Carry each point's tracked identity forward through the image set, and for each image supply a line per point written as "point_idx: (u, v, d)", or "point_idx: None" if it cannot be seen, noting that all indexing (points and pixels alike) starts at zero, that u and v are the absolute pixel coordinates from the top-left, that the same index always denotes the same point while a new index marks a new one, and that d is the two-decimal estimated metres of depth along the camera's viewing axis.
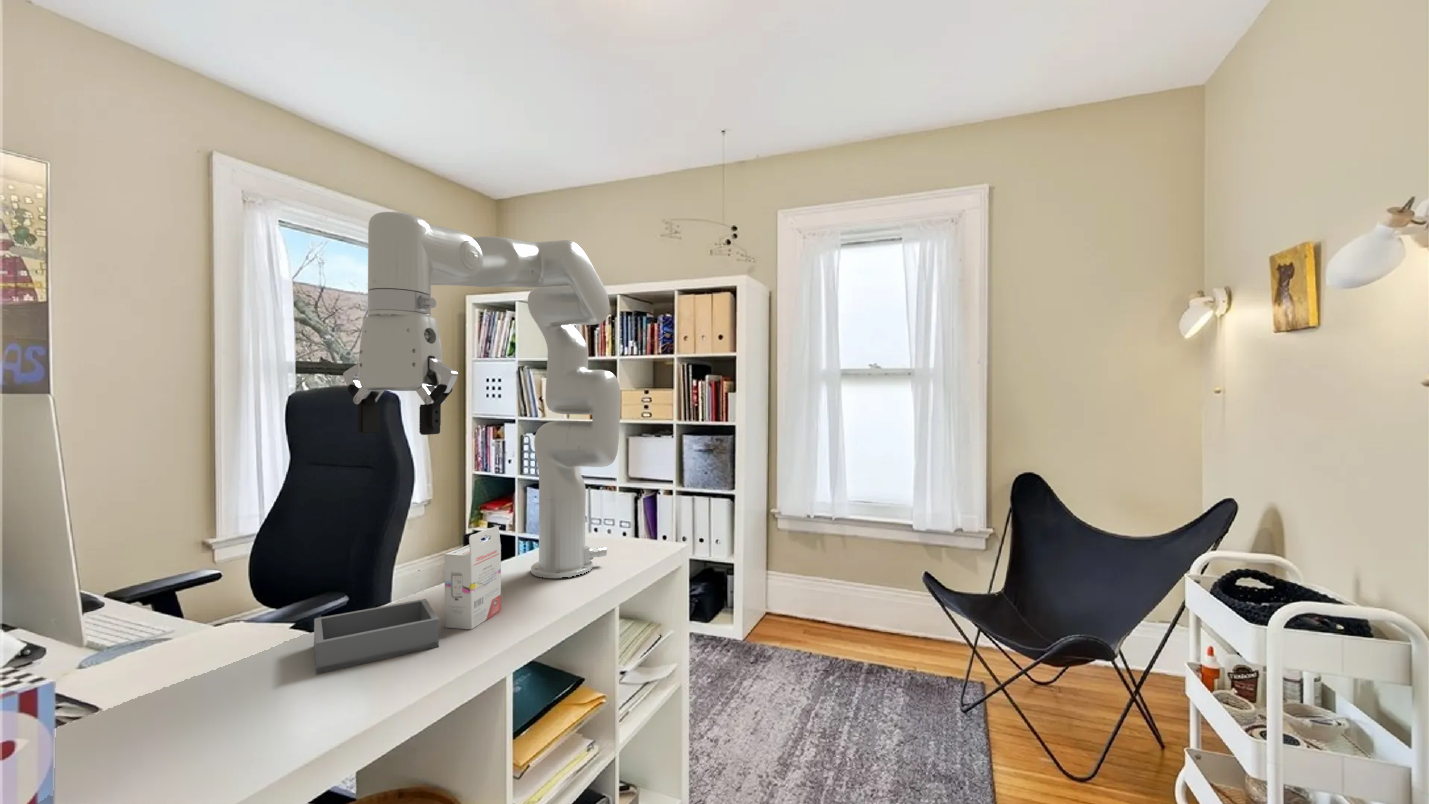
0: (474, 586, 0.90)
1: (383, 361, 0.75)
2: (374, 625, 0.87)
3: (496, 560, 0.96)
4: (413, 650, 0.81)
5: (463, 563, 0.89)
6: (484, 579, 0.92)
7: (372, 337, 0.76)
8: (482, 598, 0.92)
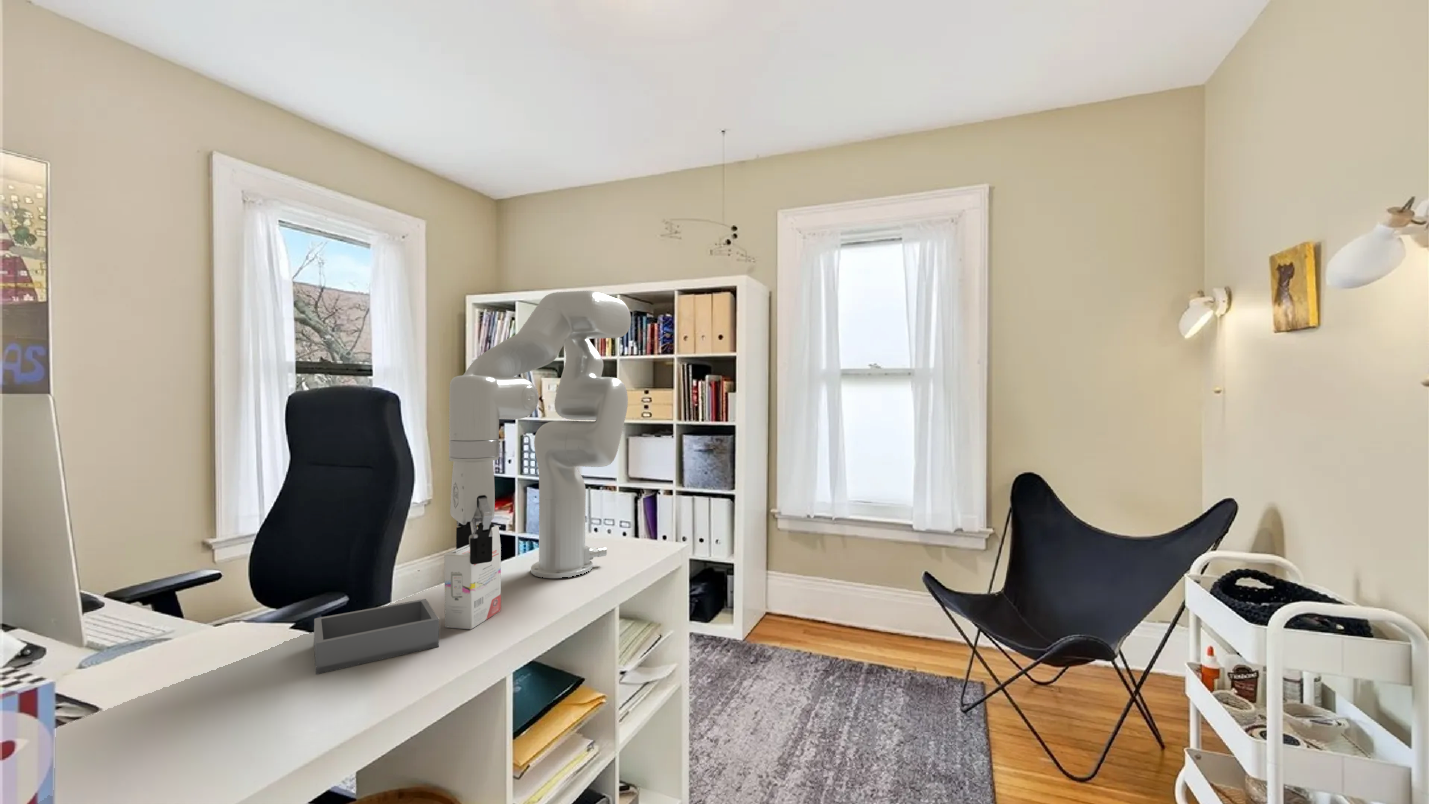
0: (474, 586, 0.90)
1: None
2: (374, 625, 0.87)
3: (496, 560, 0.96)
4: (413, 650, 0.81)
5: (463, 563, 0.89)
6: (484, 579, 0.92)
7: None
8: (482, 598, 0.92)
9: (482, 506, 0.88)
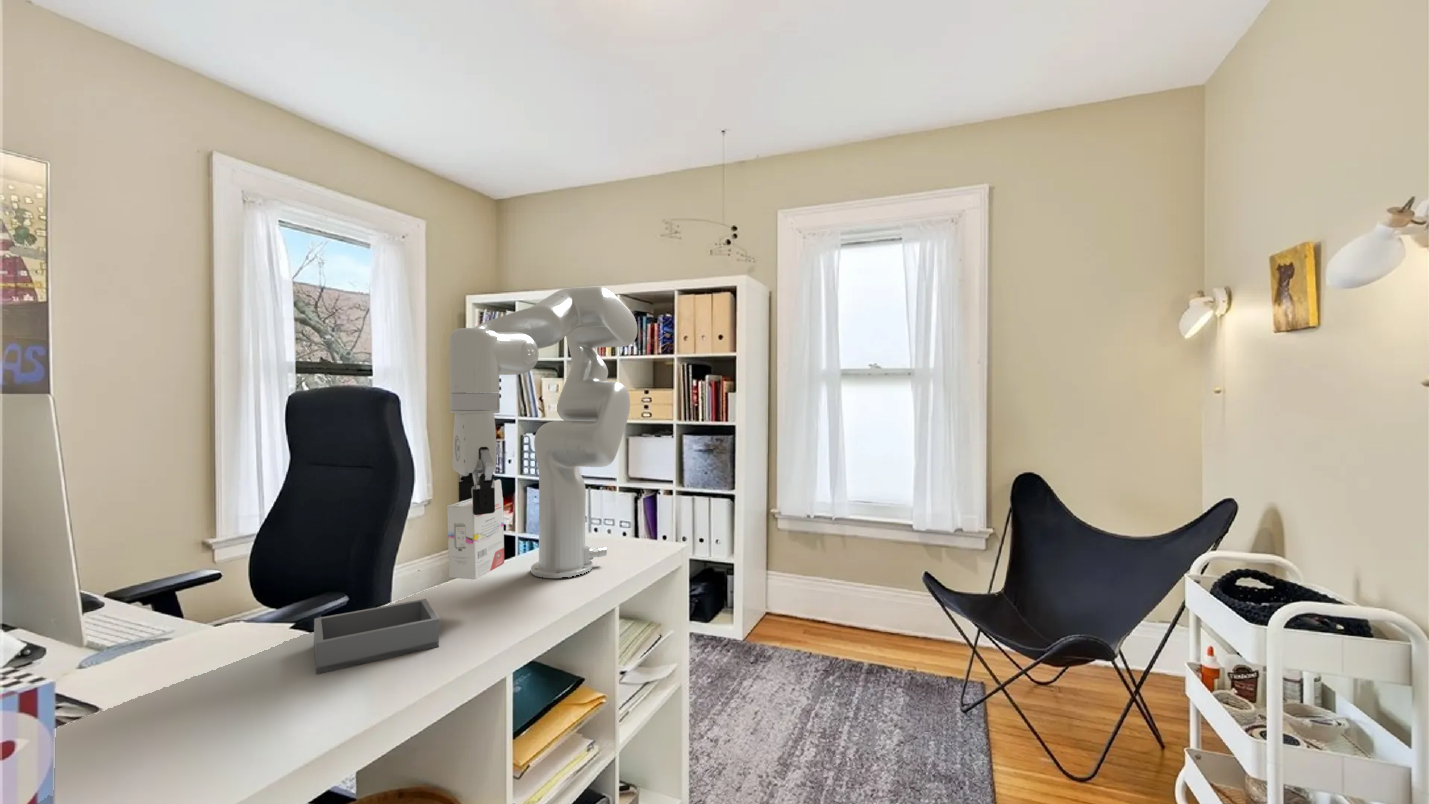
0: (477, 537, 0.91)
1: None
2: (374, 625, 0.87)
3: (498, 513, 0.96)
4: (413, 650, 0.81)
5: (466, 514, 0.90)
6: (487, 531, 0.93)
7: None
8: (485, 550, 0.93)
9: (484, 457, 0.88)
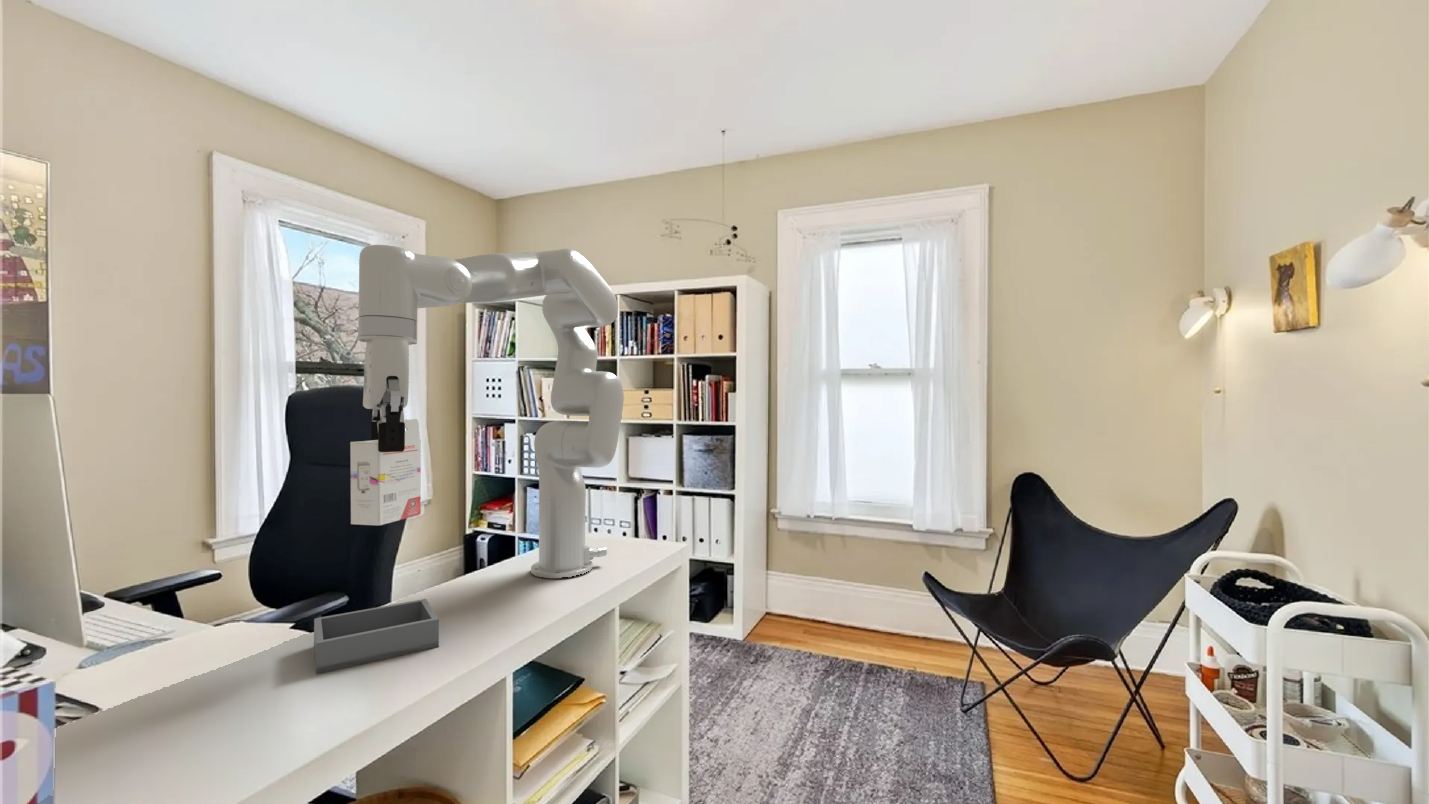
0: (384, 478, 0.80)
1: None
2: (374, 625, 0.87)
3: (414, 456, 0.86)
4: (413, 650, 0.81)
5: (371, 451, 0.80)
6: (397, 473, 0.83)
7: None
8: (394, 494, 0.82)
9: (391, 385, 0.78)
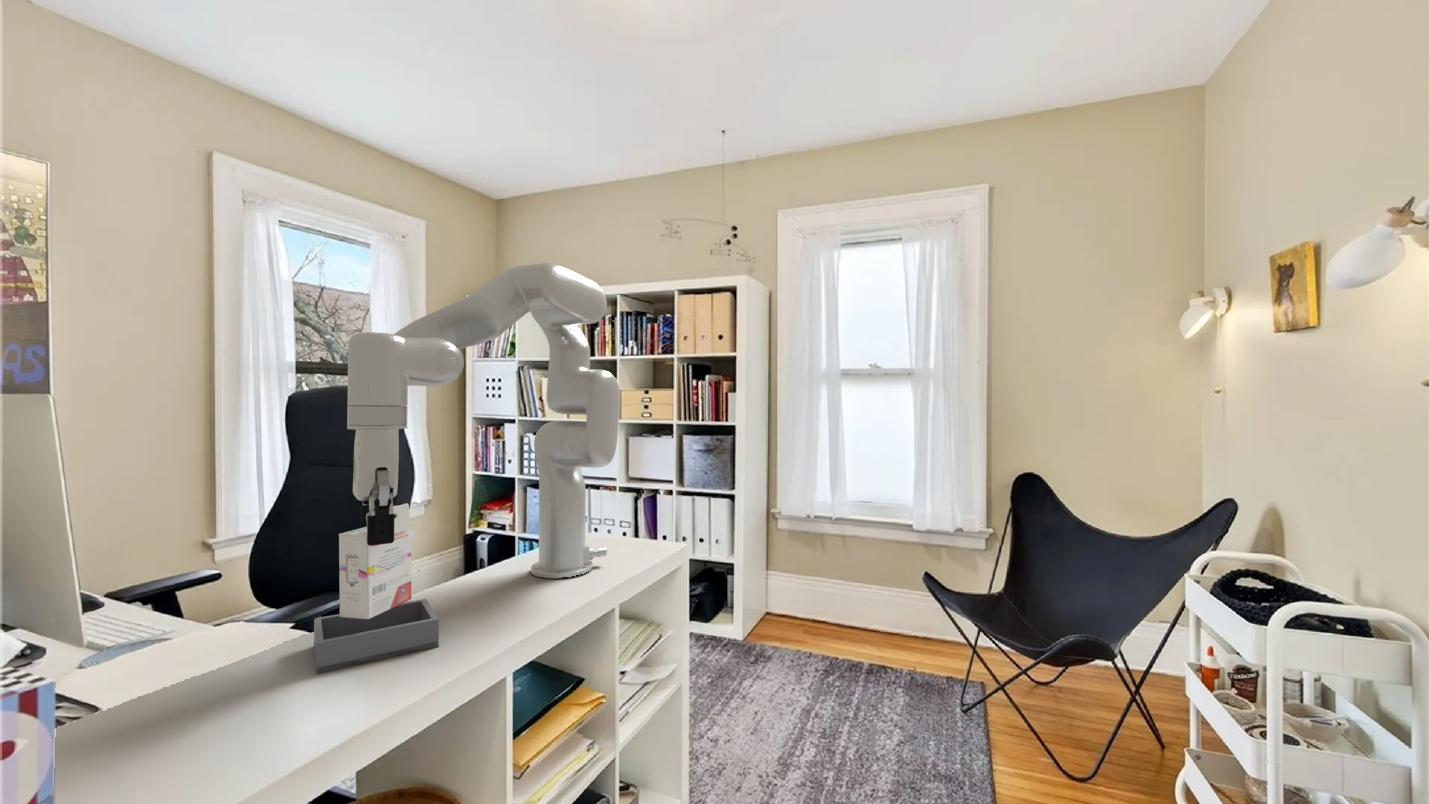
0: (373, 570, 0.79)
1: None
2: (374, 625, 0.87)
3: (404, 542, 0.85)
4: (413, 650, 0.81)
5: (360, 543, 0.79)
6: (387, 562, 0.82)
7: None
8: (383, 584, 0.81)
9: (379, 479, 0.77)
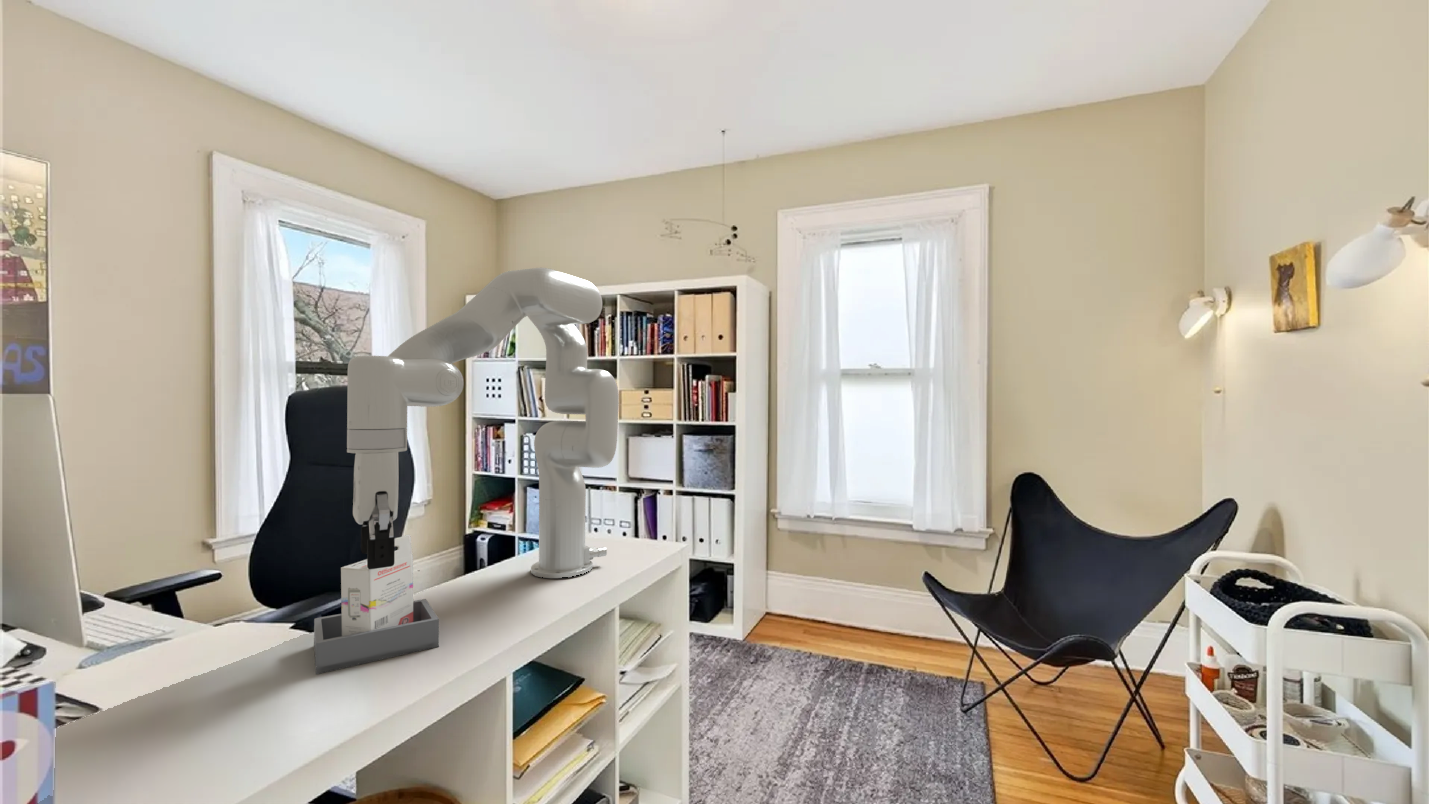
0: (375, 604, 0.79)
1: None
2: None
3: (406, 573, 0.85)
4: (413, 650, 0.81)
5: (362, 577, 0.79)
6: (389, 595, 0.82)
7: (398, 471, 0.83)
8: (385, 617, 0.81)
9: (379, 503, 0.77)
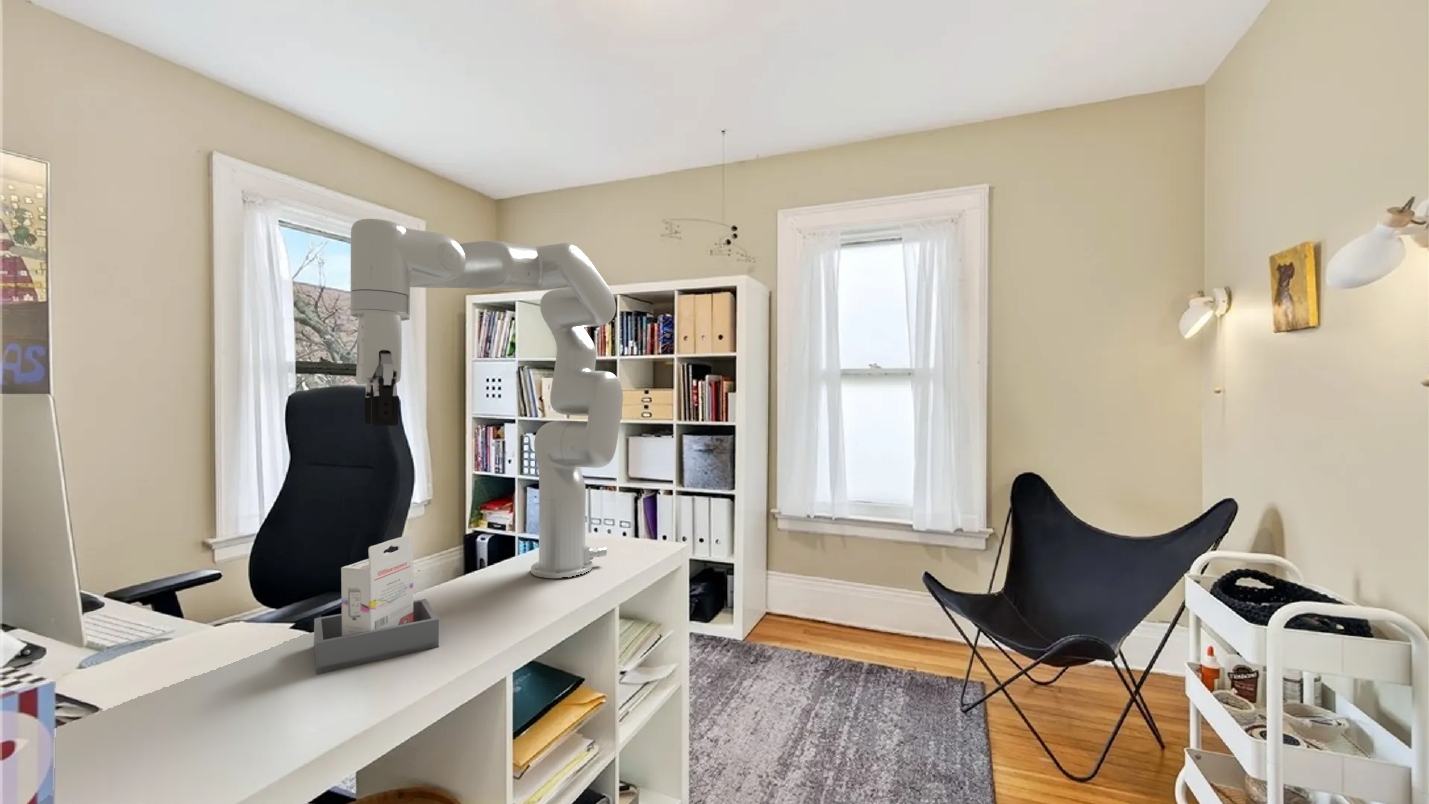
0: (375, 604, 0.79)
1: None
2: None
3: (406, 573, 0.85)
4: (413, 650, 0.81)
5: (362, 578, 0.79)
6: (389, 595, 0.82)
7: None
8: (386, 617, 0.81)
9: (383, 358, 0.78)
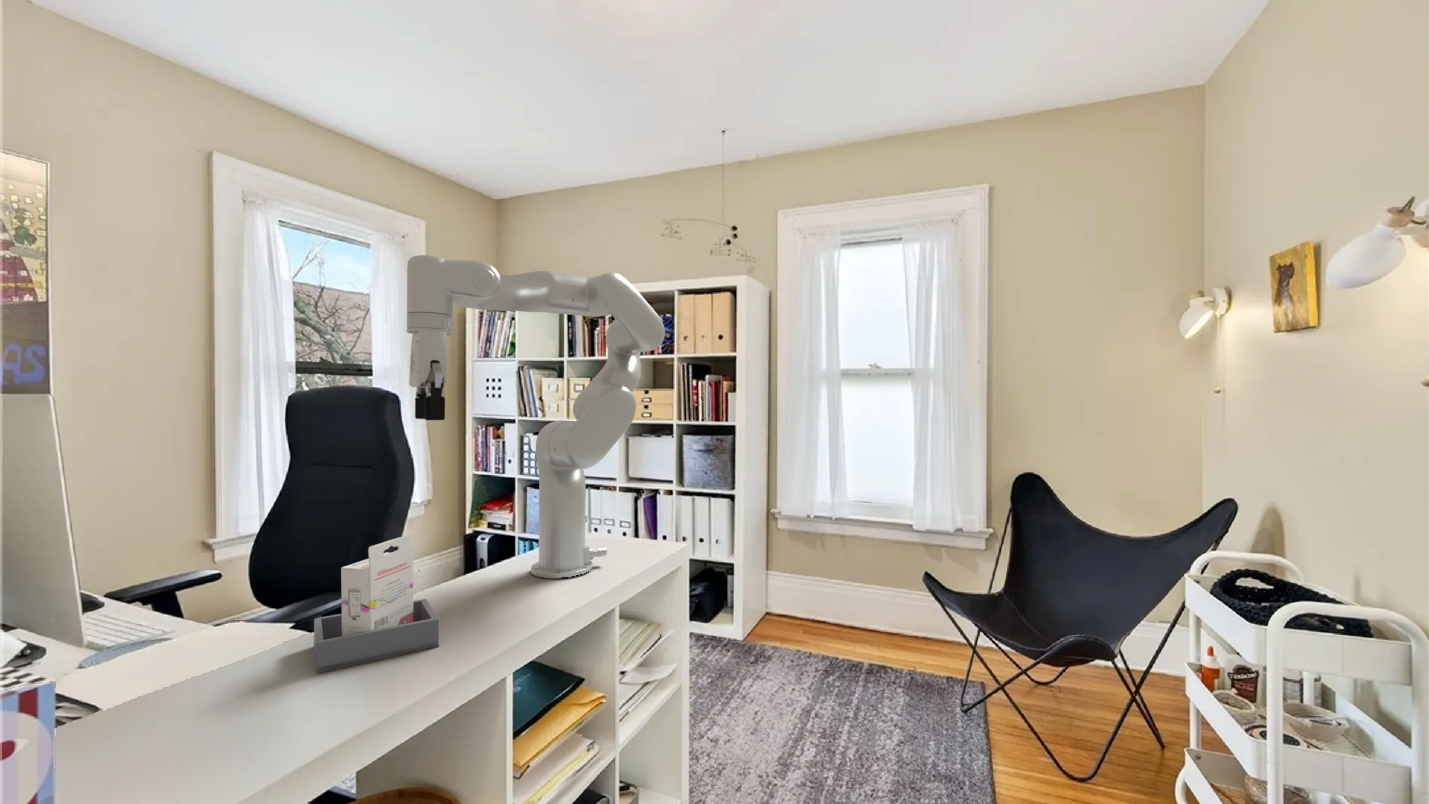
0: (375, 604, 0.79)
1: None
2: None
3: (406, 573, 0.85)
4: (413, 650, 0.81)
5: (362, 578, 0.79)
6: (389, 595, 0.82)
7: None
8: (385, 617, 0.81)
9: (434, 367, 0.98)
